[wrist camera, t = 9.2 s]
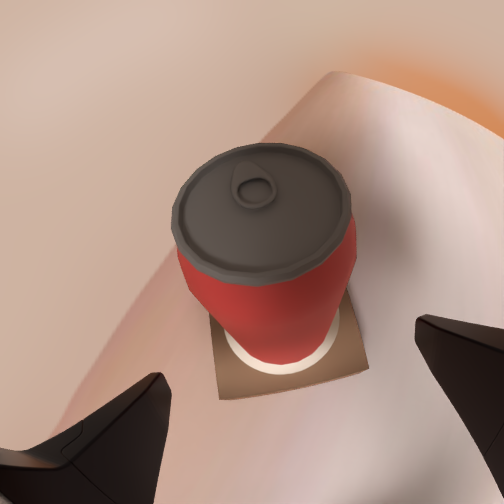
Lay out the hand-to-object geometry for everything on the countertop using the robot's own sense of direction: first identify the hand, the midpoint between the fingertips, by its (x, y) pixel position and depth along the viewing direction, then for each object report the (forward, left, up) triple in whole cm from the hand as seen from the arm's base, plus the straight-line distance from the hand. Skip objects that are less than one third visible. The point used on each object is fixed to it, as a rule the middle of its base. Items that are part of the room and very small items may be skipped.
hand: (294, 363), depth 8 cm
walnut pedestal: (+2, +4, -12) cm, 13 cm away
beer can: (+2, +4, -9) cm, 10 cm away
